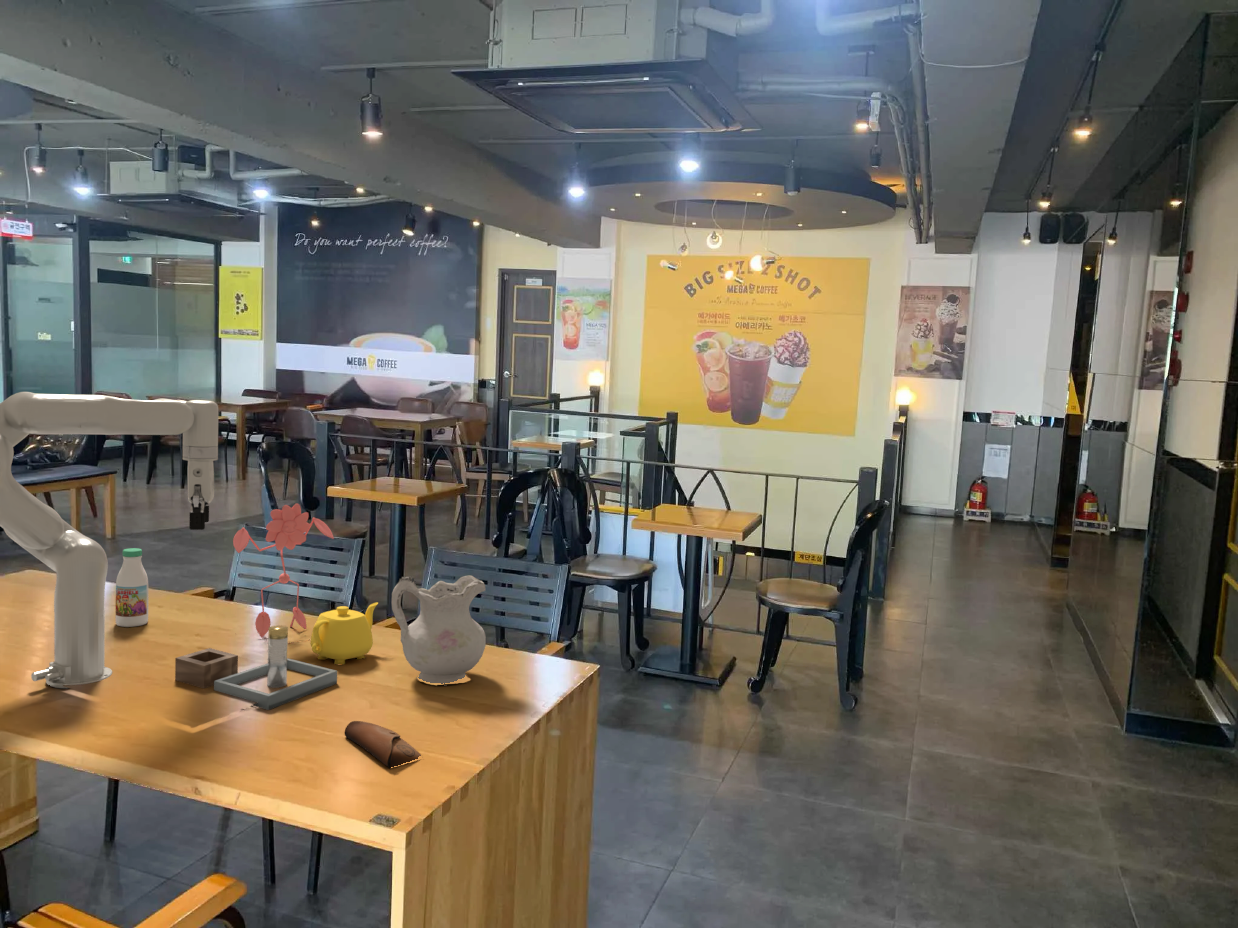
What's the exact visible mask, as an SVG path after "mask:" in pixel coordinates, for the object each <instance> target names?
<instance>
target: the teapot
mask: <svg viewBox="0 0 1238 928" xmlns="http://www.w3.org/2000/svg"><path fill="white" fill-rule="evenodd" d="M378 604H379V602H377V601H376V602H373V603H371V604H369V605H368V607H367V609H366V611H365V614H364V613H363V612H360V611H357V610H352V609H349V606H345V605H342V606H341V605H340V606H337V607H336V609H332V610H328V611H324V612H321V613H320V614H319V616H318V617H317V619H316V621H315V623H314V625H313V627H312V632H311V635H310V636H311V637H310V639H311V640H310V642H309V643H310V647H311V651H312V652H313V653H314V654H317V655H318V656H317V658H318V660H327V659H333V660H334V665H335V664H343V665H345V664H346V660H348V659H355V658H357V659H356V660H363V659H362V658H364V659H365V658H366V656H365V655H366V654H368V653H370V650H371V649H372V647H373V645H374V641H373V640H374V639H373V631H372V629H373V620H374V619H373V618H374V617H373V616H374V610H375V608H376V607H377V605H378Z"/></svg>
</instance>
